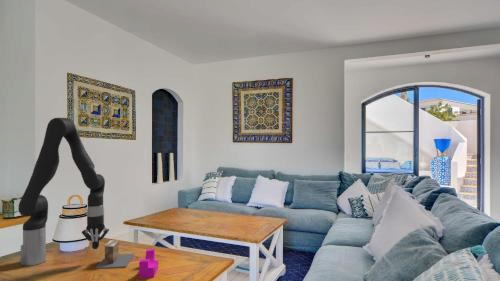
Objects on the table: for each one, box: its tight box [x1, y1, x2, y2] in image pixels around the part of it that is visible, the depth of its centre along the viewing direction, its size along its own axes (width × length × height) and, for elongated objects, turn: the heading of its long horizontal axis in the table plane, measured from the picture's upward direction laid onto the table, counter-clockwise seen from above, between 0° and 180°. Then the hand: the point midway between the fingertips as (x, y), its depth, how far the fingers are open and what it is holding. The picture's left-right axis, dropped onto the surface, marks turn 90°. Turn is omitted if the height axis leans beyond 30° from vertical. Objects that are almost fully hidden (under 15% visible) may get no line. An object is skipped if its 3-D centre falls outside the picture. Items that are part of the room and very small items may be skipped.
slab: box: [104, 239, 119, 264], centre depth 149 cm, size 4×8×9 cm, turn 7°
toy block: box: [138, 248, 159, 279], centre depth 139 cm, size 15×6×8 cm, turn 7°
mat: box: [94, 253, 135, 270], centre depth 149 cm, size 14×16×1 cm
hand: (95, 248), depth 148 cm, fingers closed
